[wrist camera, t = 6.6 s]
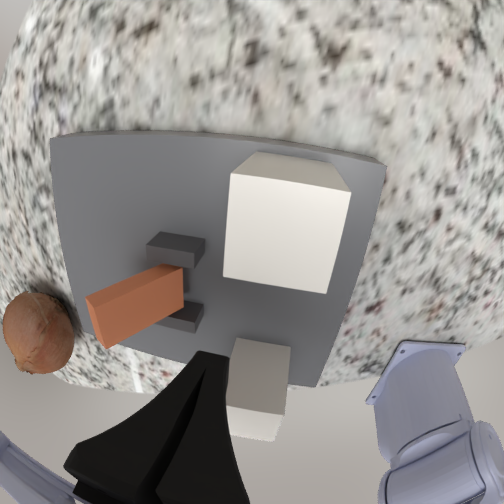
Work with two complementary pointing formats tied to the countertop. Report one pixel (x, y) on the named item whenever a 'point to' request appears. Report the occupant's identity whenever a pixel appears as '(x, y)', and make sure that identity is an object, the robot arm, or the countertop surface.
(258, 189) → the near plug
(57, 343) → the onion
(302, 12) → the countertop surface
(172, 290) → the bar
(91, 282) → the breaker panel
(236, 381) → the far plug
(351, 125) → the countertop surface
